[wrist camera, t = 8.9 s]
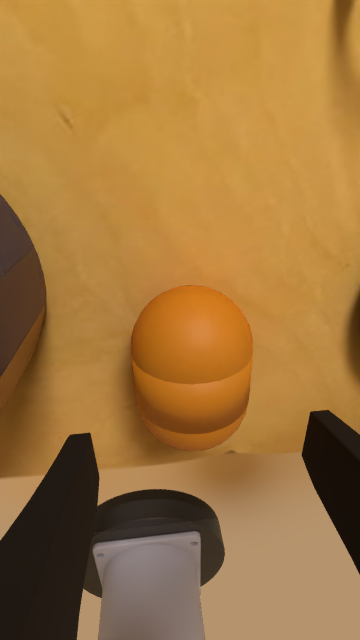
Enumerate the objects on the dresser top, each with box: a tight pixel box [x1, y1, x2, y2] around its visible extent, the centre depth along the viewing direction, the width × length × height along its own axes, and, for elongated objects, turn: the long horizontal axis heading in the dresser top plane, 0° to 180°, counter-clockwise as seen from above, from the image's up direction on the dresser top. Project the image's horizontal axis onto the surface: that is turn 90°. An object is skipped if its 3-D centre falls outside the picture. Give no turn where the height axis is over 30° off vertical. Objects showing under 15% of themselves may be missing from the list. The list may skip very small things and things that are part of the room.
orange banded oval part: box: [131, 285, 253, 451], centre depth 14 cm, size 7×5×5 cm
